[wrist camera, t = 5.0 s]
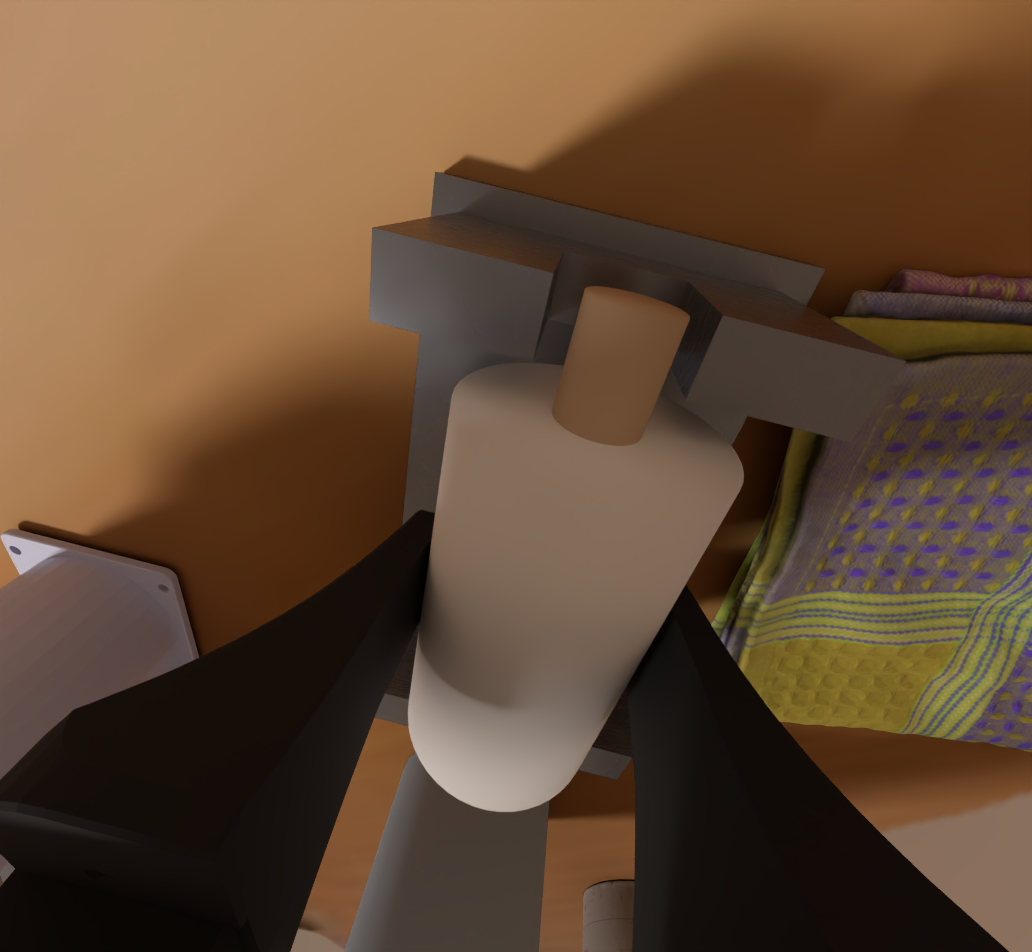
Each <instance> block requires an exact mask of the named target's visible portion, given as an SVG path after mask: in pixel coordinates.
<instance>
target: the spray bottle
mask: <svg viewBox="0 0 1032 952" xmlns="http://www.w3.org/2000/svg"><path fill="white" fill-rule="evenodd" d="M548 812H549V800H548V801H546V802H544V803H543V804H541V805H539V806H536V807H533V808H530V809H527V810H521V811H515V812H496V811H489V810H484V809H481V808H477V807H474V806H471V805H469V804H467V803H465V802H463V801H460V800H459V799H457V798H455V797H454V796H452V795H451V794H449V793H448V792H447V791H445V790H444V789H443V788H442V787H441V786H440V785H439V784H437V783H436V781H435V780H434V779H433V778H432V777H431V776H430V775H429V773H428V772H427V771H426V769H425V768H424V766H423V765H422V763H421V761H420V760H419V757H418V755H417V753H415V754H413V755H412V756H410V757H409V759H408V761H407V763H406V765H405V767H404V770H403V773H402V777H401V780H400V783H399V786H398V789H397V792H396V795H395V798H394V801H393V804H392V807H391V810H390V813H389V817H388V820H387V823H386V826H385V829H384V832H383V835H382V838H381V841H380V844H379V847H378V850H377V853H376V857H375V860H374V863H373V866H372V869H371V872H370V875H369V878H368V881H367V884H366V887H365V890H364V893H363V896H362V900H361V903H360V906H359V909H358V912H357V915H356V918H355V921H354V924H353V927H352V930H351V933H350V936H349V940H348V943H347V946H346V949H345V952H539V938H540V924H541V910H542V896H543V882H544V868H545V854H546V840H547V826H548Z"/></svg>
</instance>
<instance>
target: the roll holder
mask: <svg viewBox="0 0 1032 952" xmlns="http://www.w3.org/2000/svg"><path fill="white" fill-rule="evenodd" d="M825 270H826V269H824V268H821V267H818V266H815V265H811V264H807V263H803V262H799V261H795V260H791V259H787V258H783V257H779V256H775V255H771V254H767V253H763V252H759V251H755V250H751V249H747V248H743V247H739V246H735V245H731V244H727V243H723V242H719V241H715V240H711V239H707V238H703V237H699V236H695V235H691V234H687V233H683V232H679V231H675V230H671V229H667V228H663V227H659V226H655V225H651V224H647V223H643V222H639V221H635V220H631V219H627V218H623V217H619V216H615V215H611V214H607V213H603V212H599V211H595V210H590V209H586V208H582V207H578V206H574V205H570V204H566V203H562V202H558V201H554V200H550V199H546V198H542V197H538V196H534V195H530V194H526V193H522V192H518V191H514V190H510V189H506V188H502V187H498V186H494V185H490V184H486V183H482V182H478V181H474V180H470V179H466V178H462V177H458V176H454V175H450V174H446V173H442V172H435V179H434V189H433V200H432V211H431V217H428V218H423V219H417V220H412V221H406V222H401V223H395V224H390V225H384V226H379V227H373V228H372V251H371V282H370V312H369V321H372V322H376V323H380V324H384V325H388V326H392V327H396V328H400V329H404V330H407V331H411V332H415V333H419V334H420V339H419V350H418V361H417V371H416V382H415V393H414V404H413V414H412V425H411V436H410V446H409V457H408V468H407V479H406V489H405V500H404V511H403V521H402V525H403V524H404V523H405V522H406V521H408V520H409V519H410V518H411V517H412V516H413V515H414V514H415V513H416V512H417V511H419V510H425V511H429V512H433V513H435V511H436V504H437V497H438V490H439V483H440V475H441V468H442V461H443V454H444V447H445V440H446V433H447V426H448V418H449V411H450V404H451V397H452V393H453V391H454V388H455V387H456V385H457V384H458V383H459V381H460V380H462V379H463V378H464V377H466V376H467V375H469V374H471V373H472V372H474V371H477V370H480V369H482V368H485V367H490V366H494V365H500V364H508V363H544V364H554V365H563V366H564V364H565V360H566V356H567V353H568V349H569V345H570V342H571V338H572V334H573V331H574V327H575V323H576V320H577V316H578V312H579V309H580V305H581V301H582V298H583V294H584V290H585V288H587V287H591V286H600V287H609V288H616V289H621V290H626V291H630V292H634V293H638V294H642V295H645V296H648V297H652V298H655V299H658V300H660V301H663V302H666V303H668V304H671V305H673V306H675V307H677V308H679V309H681V310H683V311H684V312H686V313H687V314H688V315H689V316H690V320H689V323H688V325H687V327H686V330H685V332H684V335H683V337H682V340H681V342H680V345H679V347H678V350H677V352H676V355H675V357H674V359H673V362H672V364H671V367H670V369H669V372H668V374H667V377H666V379H665V382H664V384H663V387H662V389H661V392H660V394H659V395H661V396H664V397H666V398H668V399H669V400H671V401H673V402H675V403H677V404H679V405H681V406H682V407H684V408H686V409H687V410H689V411H691V412H692V413H694V414H695V415H697V416H698V417H700V418H701V419H703V420H704V421H705V422H707V423H708V424H709V425H710V426H712V427H713V428H714V429H715V430H716V431H717V432H719V433H720V434H721V435H722V436H723V437H724V438H725V439H726V440H727V442H728V443H729V444H730V445H731V446H732V445H733V443H734V441H735V439H736V437H737V435H738V433H739V431H740V430H741V428H742V426H743V424H744V422H745V420H746V418H747V416H749V417H753V418H757V419H761V420H765V421H769V422H773V423H777V424H781V425H785V426H789V427H793V428H797V429H800V430H804V431H808V432H812V433H816V434H820V435H824V436H828V437H832V438H836V439H840V440H844V441H848V442H851V441H852V440H853V438H854V437H855V435H856V434H857V432H858V431H859V429H860V428H861V427H862V425H863V424H864V422H865V421H866V419H867V418H868V416H869V415H870V414H871V412H872V411H873V409H874V408H875V406H876V405H877V403H878V402H879V401H880V399H881V398H882V396H883V395H884V393H885V392H886V390H887V389H888V388H889V386H890V385H891V383H892V382H893V380H894V379H895V377H896V376H897V374H898V373H899V372H900V370H901V369H902V367H903V366H904V364H905V363H906V361H905V360H903V359H901V358H900V357H898V356H896V355H894V354H892V353H891V352H889V351H887V350H885V349H883V348H882V347H880V346H878V345H876V344H874V343H873V342H871V341H869V340H867V339H865V338H864V337H862V336H860V335H858V334H856V333H855V332H853V331H851V330H849V329H847V328H846V327H844V326H842V325H840V324H838V323H836V322H835V321H833V320H831V319H829V318H827V317H826V316H824V315H822V314H820V313H818V312H817V311H815V310H813V309H811V308H809V307H808V306H807V304H808V302H809V300H810V298H811V296H812V294H813V292H814V291H815V289H816V287H817V285H818V283H819V281H820V279H821V277H822V276H823V274H824V272H825ZM419 625H420V622H419V624H418V626H417V628H416V630H415V632H414V634H413V637H412V639H411V641H410V643H409V645H408V647H407V649H406V651H405V653H404V655H403V657H402V659H401V661H400V664H399V666H398V668H397V670H396V672H395V674H394V676H393V678H392V680H391V682H390V684H389V686H388V688H387V690H386V692H385V695H384V697H383V699H382V701H381V703H380V706H379V708H378V710H377V712H376V715H375V718H379V719H383V720H387V721H391V722H394V723H398V724H402V725H406V726H409V725H408V705H409V696H410V689H411V682H412V675H413V668H414V661H415V653H416V646H417V639H418V632H419ZM632 758H633V754H632V740H631V729H630V718H629V708H628V698H627V686H626V688H625V690H624V691H623V693H622V695H621V697H620V698H619V700H618V702H617V704H616V705H615V707H614V709H613V710H612V712H611V714H610V716H609V717H608V719H607V721H606V723H605V724H604V726H603V728H602V729H601V731H600V733H599V735H598V736H597V738H596V740H595V741H594V743H593V745H592V747H591V748H590V750H589V752H588V754H587V755H586V757H585V759H584V760H583V762H582V764H581V766H580V767H579V769H578V770H580V771H584V772H588V773H591V774H595V775H599V776H603V777H607V778H611V779H615V780H618V778H619V777H620V775H621V774H622V772H623V771H624V770H625V768H626V767H627V765H628V764H629V762H630V761H631V759H632Z"/></svg>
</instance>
